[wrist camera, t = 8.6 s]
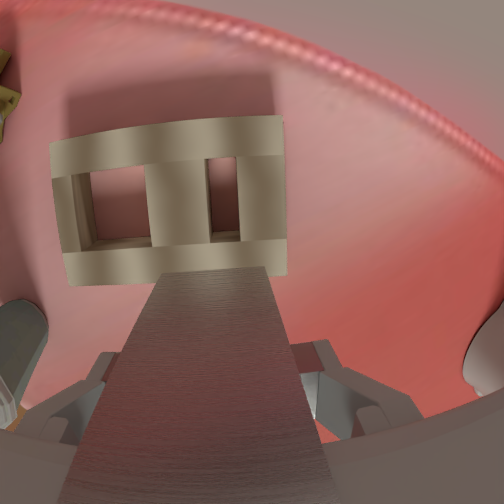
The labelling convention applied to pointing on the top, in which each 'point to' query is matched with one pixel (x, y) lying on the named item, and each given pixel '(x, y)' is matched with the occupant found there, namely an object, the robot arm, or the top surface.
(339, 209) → the top surface
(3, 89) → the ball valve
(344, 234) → the top surface
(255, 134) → the tan flat slatted block
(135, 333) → the square bit
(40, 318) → the disposable coffee cup
